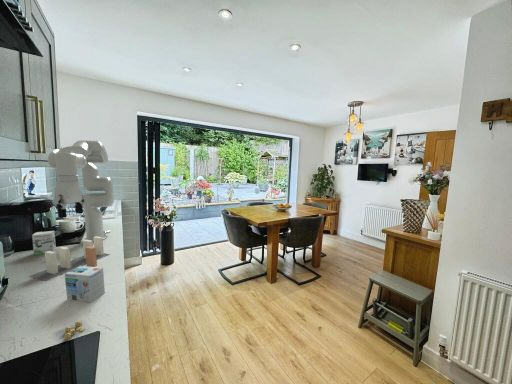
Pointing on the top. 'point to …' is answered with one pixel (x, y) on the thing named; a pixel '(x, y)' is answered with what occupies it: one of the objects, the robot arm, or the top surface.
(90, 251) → the terracotta domino
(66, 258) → the domino
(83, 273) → the light bulb box
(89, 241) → the domino
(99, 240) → the domino
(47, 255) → the domino
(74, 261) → the mat
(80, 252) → the top surface
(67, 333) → the dice set
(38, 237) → the ink box
